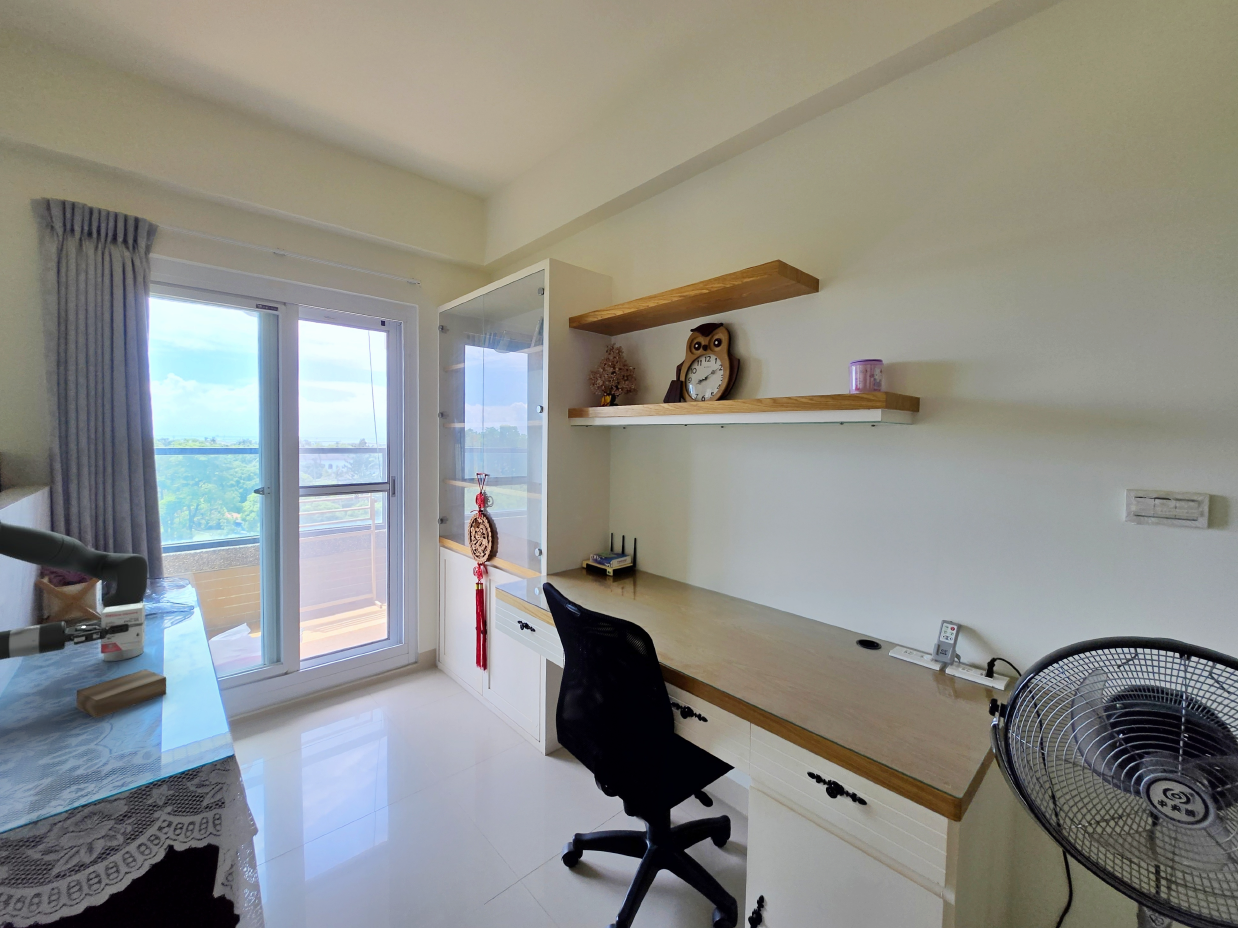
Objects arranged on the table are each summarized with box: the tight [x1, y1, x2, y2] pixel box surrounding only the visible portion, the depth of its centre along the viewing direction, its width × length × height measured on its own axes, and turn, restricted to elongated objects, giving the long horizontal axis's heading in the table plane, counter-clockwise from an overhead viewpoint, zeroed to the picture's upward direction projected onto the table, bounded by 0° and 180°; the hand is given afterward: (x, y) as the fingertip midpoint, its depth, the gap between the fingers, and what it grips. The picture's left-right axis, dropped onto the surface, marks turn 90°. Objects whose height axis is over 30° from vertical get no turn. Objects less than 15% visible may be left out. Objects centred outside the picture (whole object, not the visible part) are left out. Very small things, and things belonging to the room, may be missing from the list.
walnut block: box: [76, 669, 167, 719], centre depth 133 cm, size 11×14×5 cm
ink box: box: [100, 602, 146, 655], centre depth 141 cm, size 9×5×12 cm, turn 128°
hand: (128, 624), depth 142 cm, fingers closed on ink box, 5 cm apart
